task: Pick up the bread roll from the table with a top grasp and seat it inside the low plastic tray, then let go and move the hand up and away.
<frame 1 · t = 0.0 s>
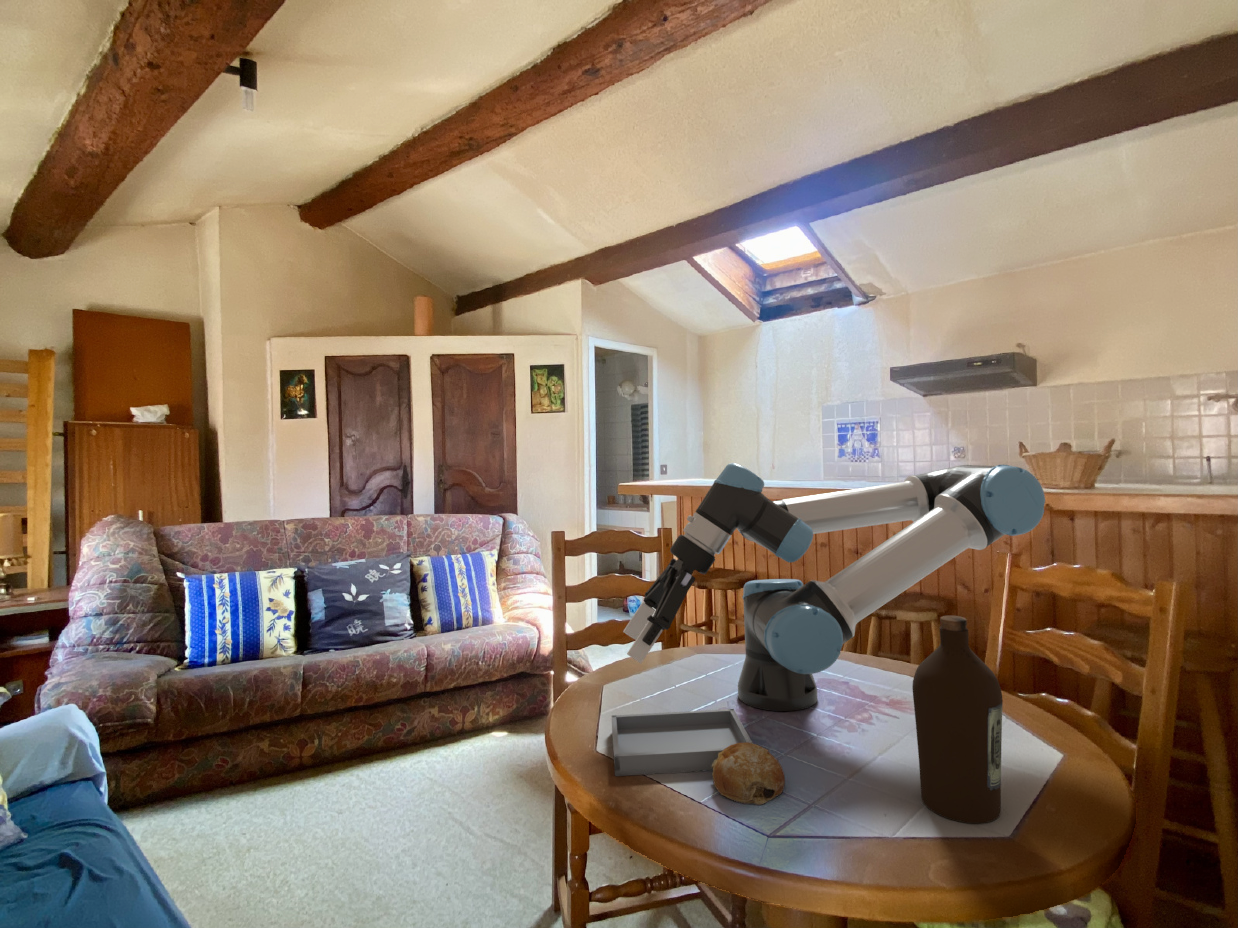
hand: (631, 646, 112), 15 cm above the table, tool tilted 35°, fingers open, 13 cm apart
olive oil: (960, 806, 86), on the table
tray: (679, 749, 106), on the table
bread roll: (746, 789, 93), on the table
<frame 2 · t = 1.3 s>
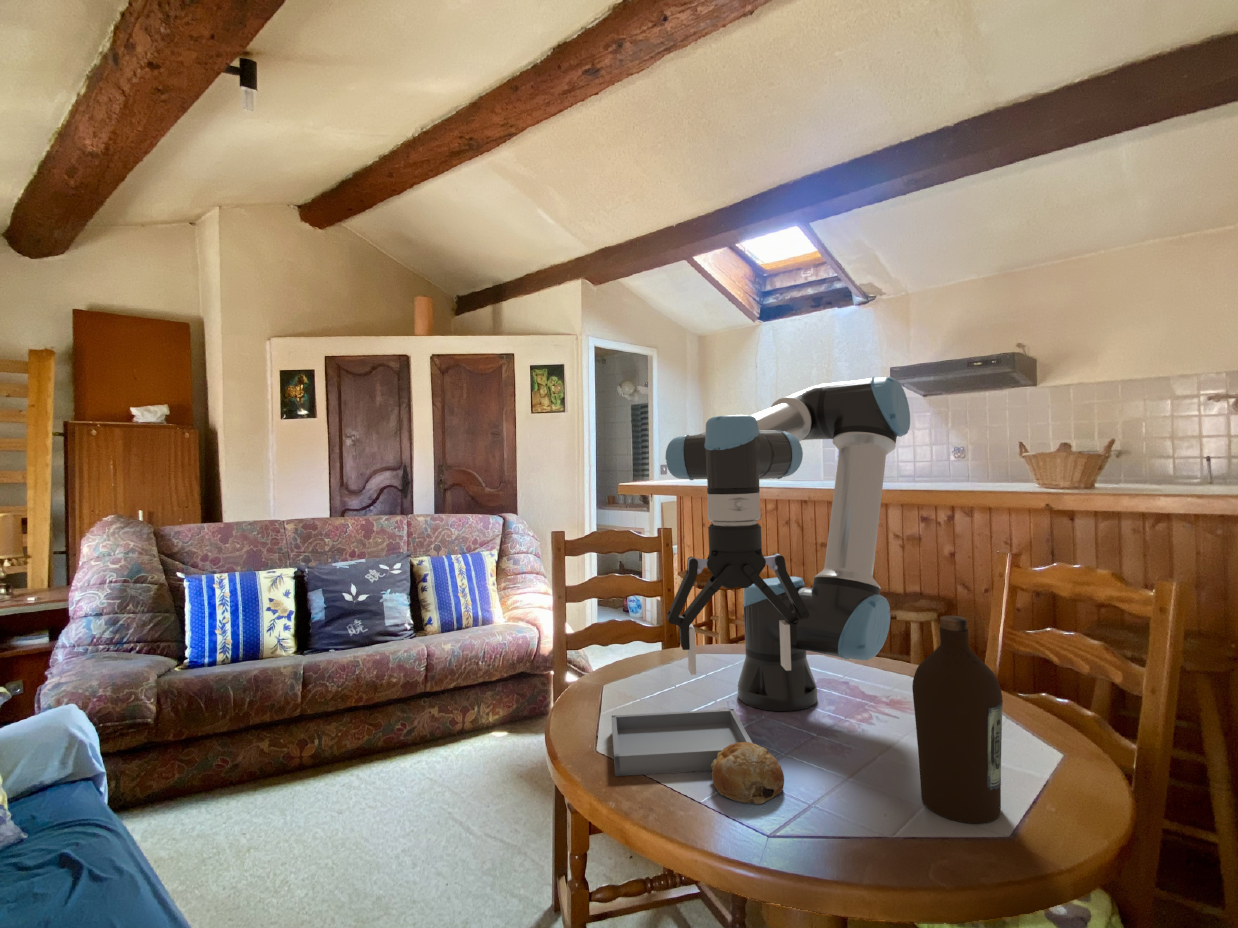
hand: (739, 669, 93), 17 cm above the table, tool pointing down, fingers open, 13 cm apart
nothing on the table moved.
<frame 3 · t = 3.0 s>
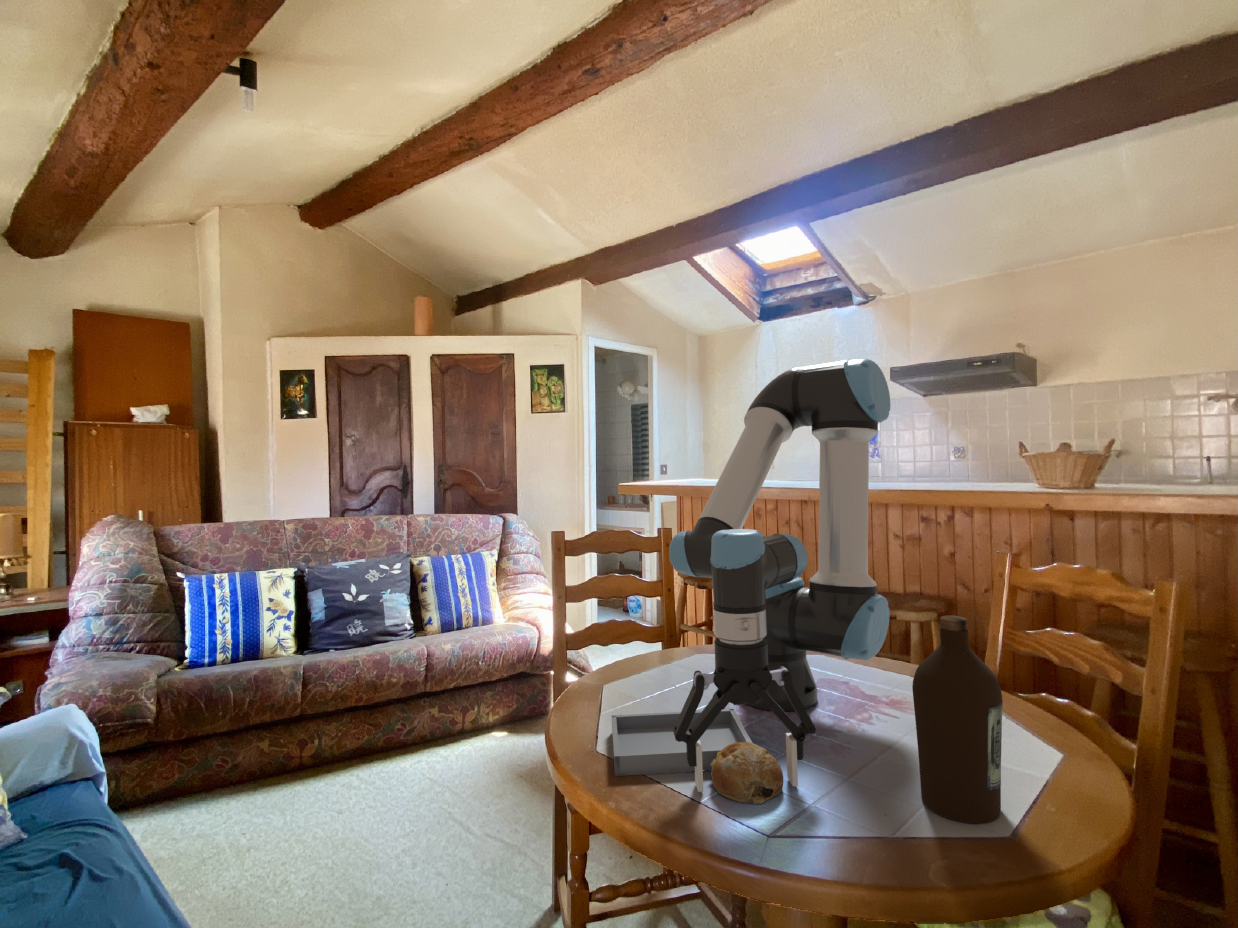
hand: (746, 784, 93), 0 cm above the table, tool pointing down, fingers open, 13 cm apart
nothing on the table moved.
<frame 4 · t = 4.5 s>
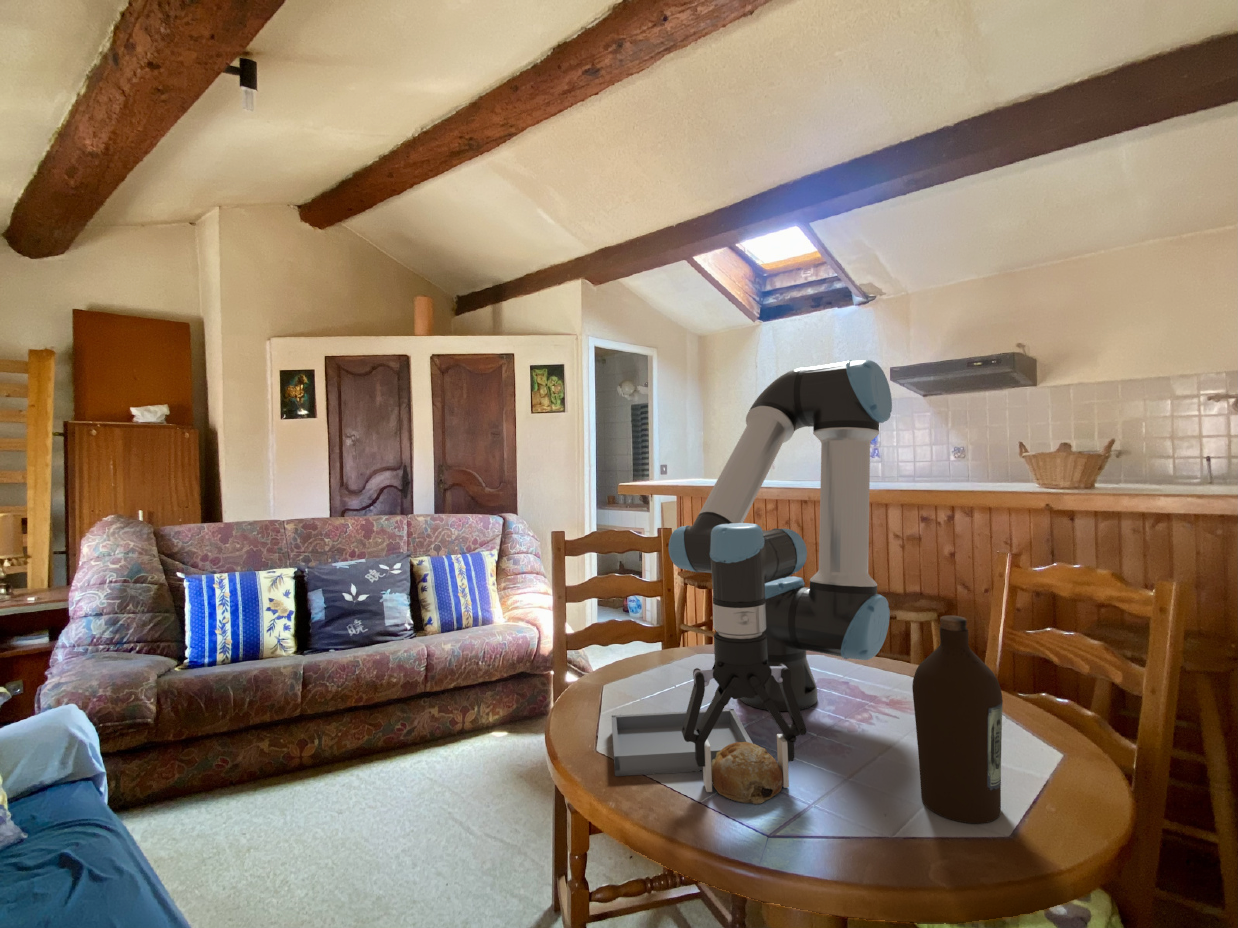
hand: (745, 785, 93), 0 cm above the table, tool pointing down, fingers closed on bread roll, 10 cm apart
bread roll: (744, 788, 93), on the table, touching gripper
everything else where it was.
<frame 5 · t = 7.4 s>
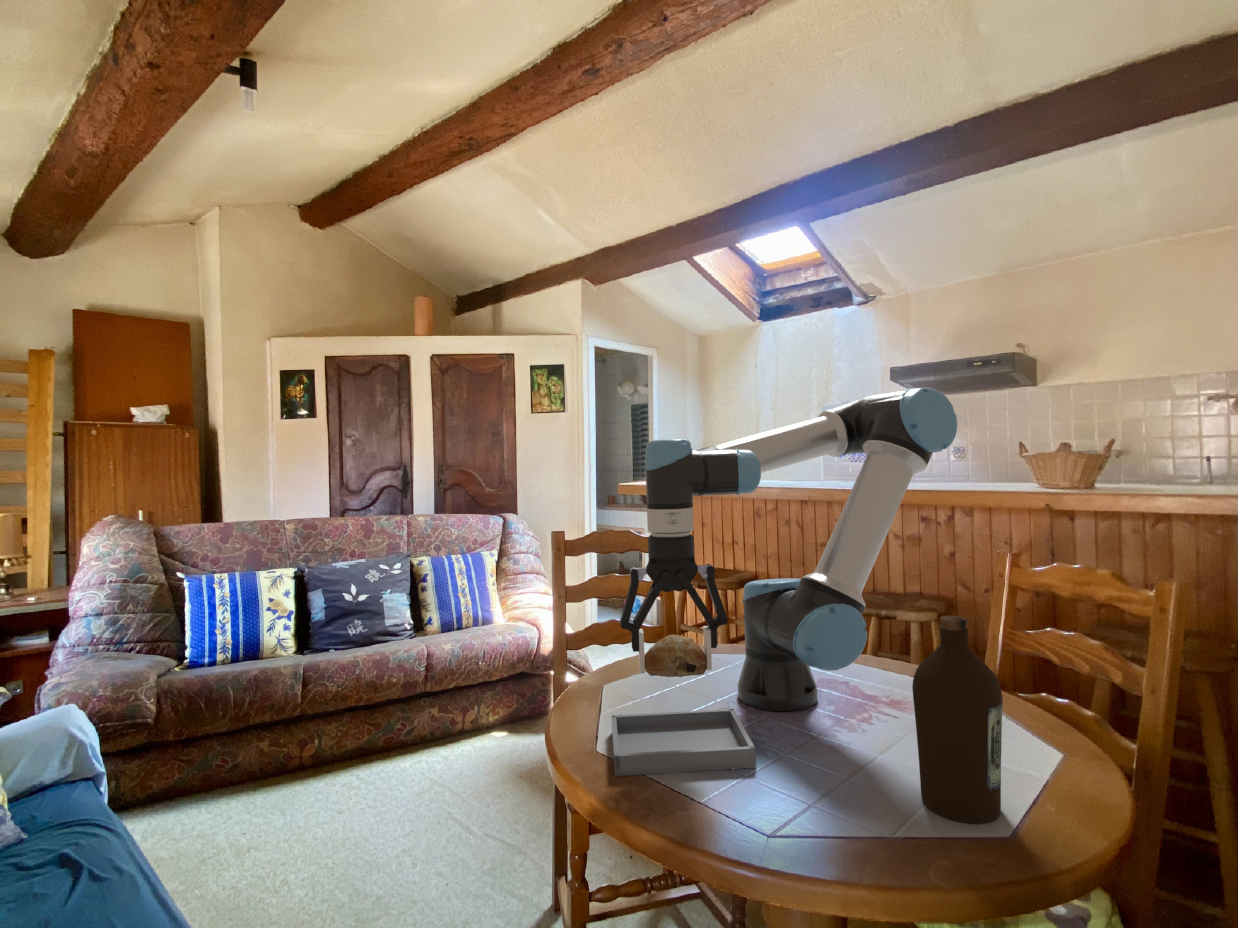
hand: (675, 669, 105), 13 cm above the table, tool pointing down, fingers closed on bread roll, 10 cm apart
bread roll: (673, 675, 105), point 12 cm above the table, touching gripper
everything else where it was.
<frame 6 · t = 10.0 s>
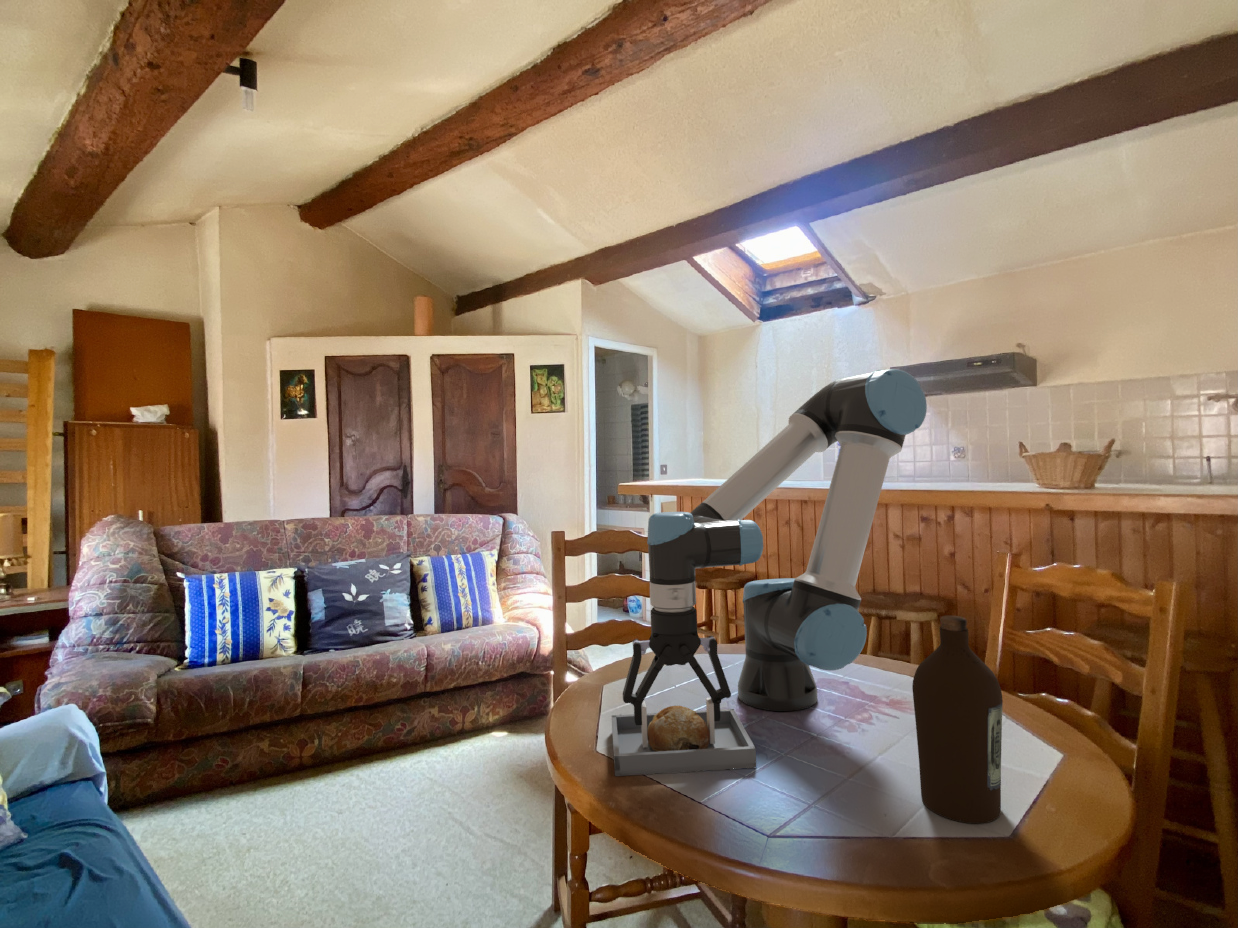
hand: (678, 742, 105), 1 cm above the table, tool pointing down, fingers closed on bread roll, 10 cm apart
bread roll: (676, 746, 105), point 1 cm above the table, touching gripper, tray
everything else where it was.
when the fingers open (1 cm above the table, at t = 10.0 s): bread roll stays where it is, resting on tray.
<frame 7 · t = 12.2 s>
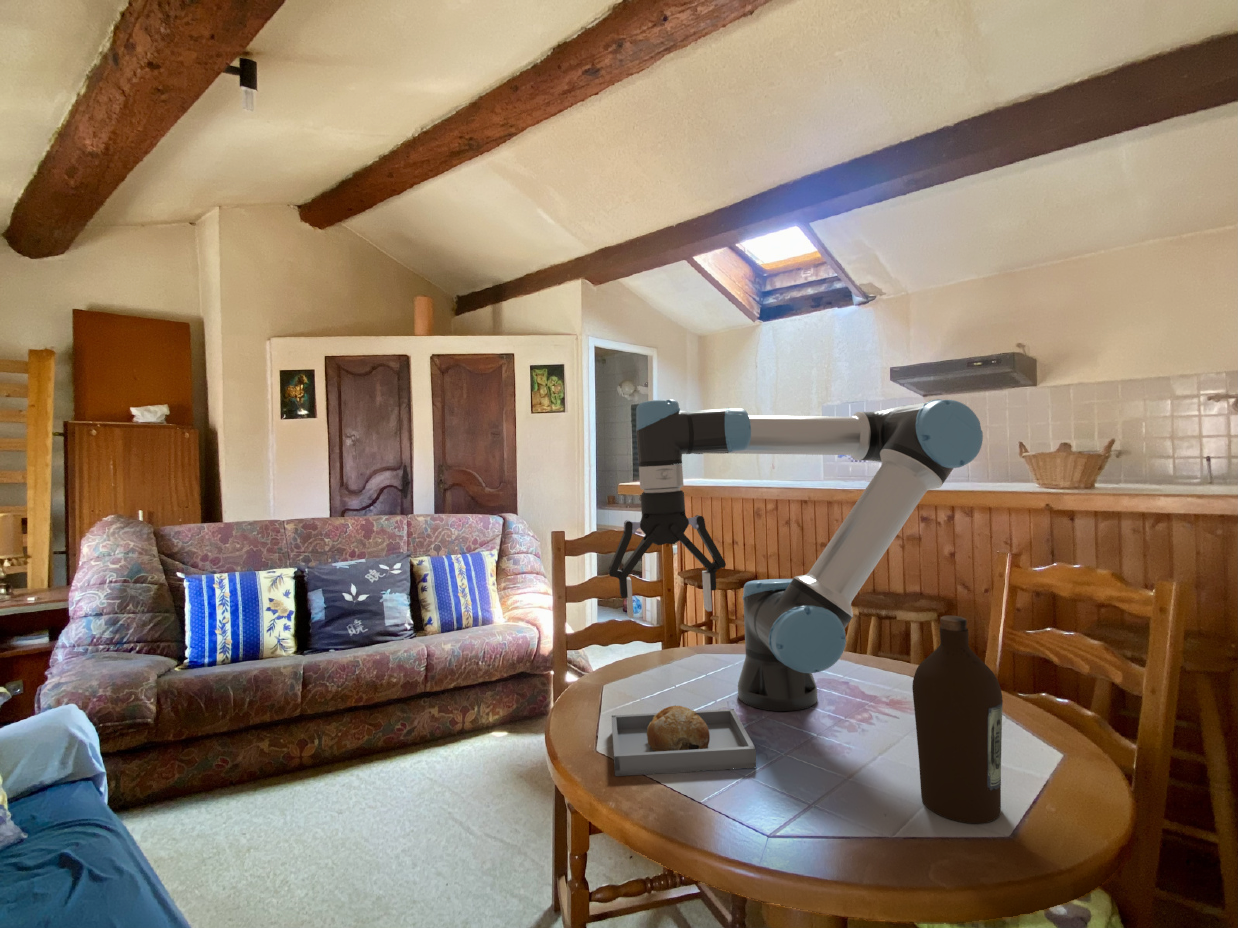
hand: (669, 613, 111), 21 cm above the table, tool pointing down, fingers open, 13 cm apart
bread roll: (676, 746, 105), point 1 cm above the table, touching tray
everything else where it was.
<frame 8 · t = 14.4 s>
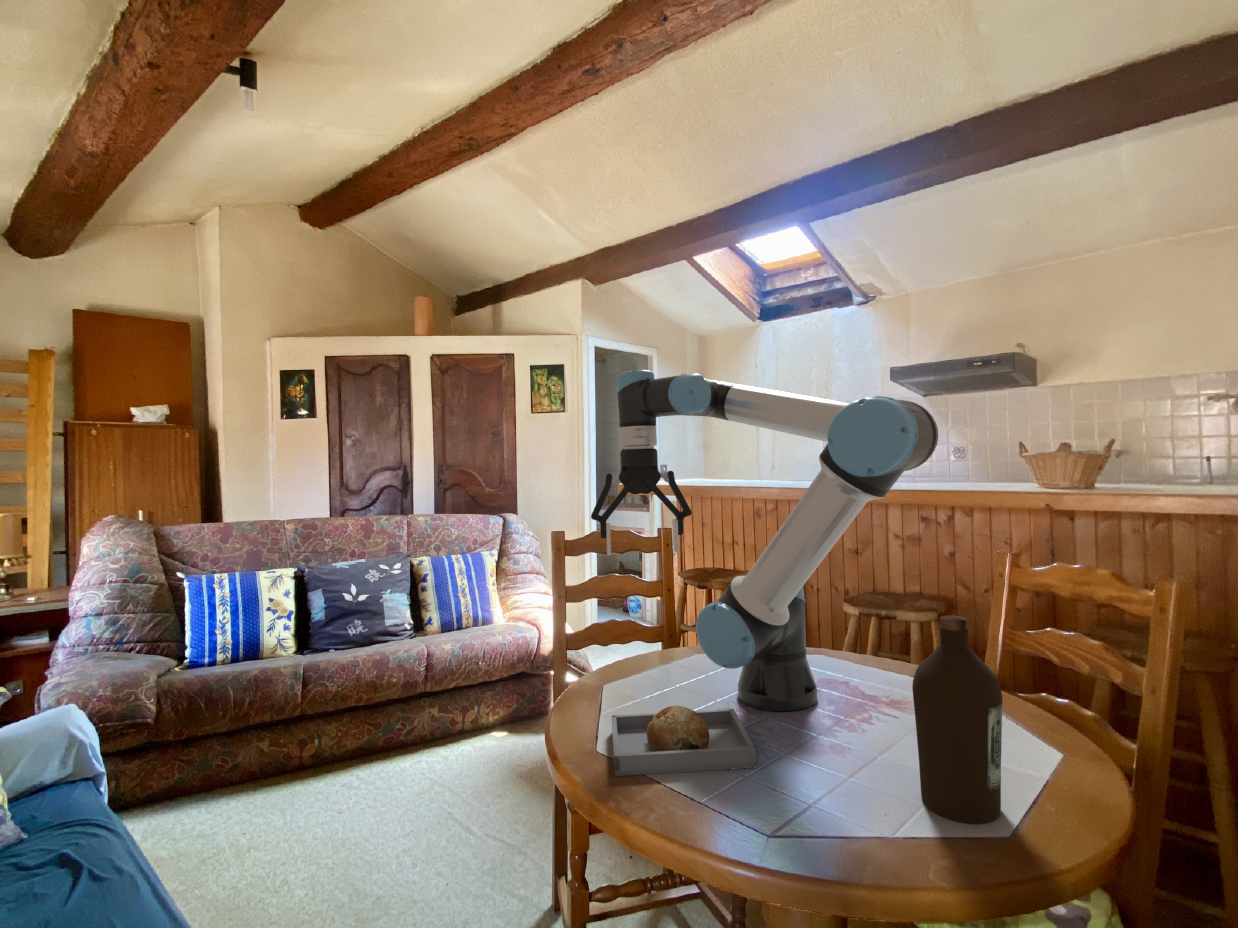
hand: (642, 553, 130), 29 cm above the table, tool pointing down, fingers open, 13 cm apart
nothing on the table moved.
at the end: bread roll inside the target area on the tray (0.5 cm from its centre), point 0.6 cm above the tray's base; the gripper is holding nothing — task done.
